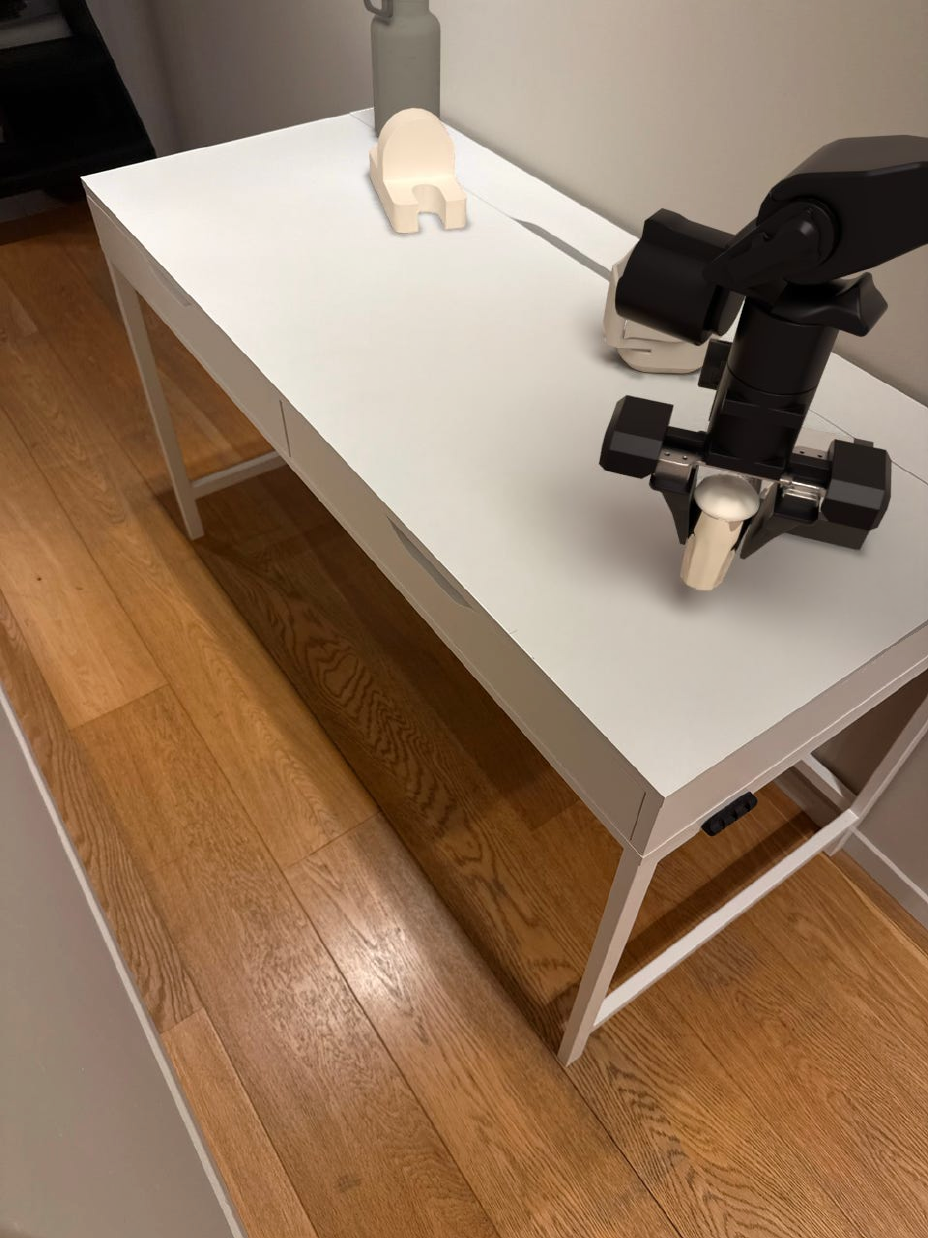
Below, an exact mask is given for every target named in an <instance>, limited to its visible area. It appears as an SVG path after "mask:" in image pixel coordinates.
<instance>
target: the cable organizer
mask: <svg viewBox="0 0 928 1238" xmlns="http://www.w3.org/2000/svg"><path fill="white" fill-rule="evenodd" d="M637 243H638V241H636V243H635V244H634V245H633V246H632V247H631V249H630V250H629V251H628V252H627V253H626V254H625V255H624V257H622V258H621V259H620V260H618V261H617V262H615V263H614V264H612V265H611V269H610V277H609V282H608V288H607V295H606V302H605V307H604V312H603V318H602V319H603V320H602V323H603V331H604V341H605V344H606V345H608V346H610V347H613V348H617V351H618V355H619V356H620V357H621V358H622V359H623V361H625V363H627V365H628V366H629V367H630V368H632V369H633V370H636V371H638V372H640V373H641V372H642V373H653V374H654V373H655V374H656V373H665V374H688V373H689V374H690V373H692V372H695V371H697V370H698V369H700V368H702V365H703V362H704V358H705V354H706V351H707V347H708V343H709V340H710V338H714V339H719V340H721V338H723V336H717V335H715V334H712V335H711V336H710V338H709V339H708V340H707V341H706V342H705V343H704V344H702V345H701V346H695V345H693V344H690V343H687V342H685V341H682V340H680V339H677V338H674V337H672V336H669V335H667V334H664V333H661V332H659V331H656V330H653V329H651V328H648V327H646V326H643V325H640V324H638V323H635V322H633V321H630V320H627V319H625V318H622V317H620V316H619V315H618V314H617V312H616V309H615V292H616V286H617V282H618V280H619V278H620V277H621V276H623V272H624V269H625V267H626V264H627V262H628V259H629V257H630V255H631V253H632V251H633V249H634V248H635V246H636V244H637ZM625 324H626V325H625ZM625 326H626V327H625Z"/></svg>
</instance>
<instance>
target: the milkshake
mask: <svg viewBox="0 0 928 1238" xmlns="http://www.w3.org/2000/svg"><path fill="white" fill-rule="evenodd" d="M774 484H775V482H770V483H769V484H768V485H767V486H766V487H765V488H764V489H763V490H762V491H761V492H760V493H759V494H757V492H756V491H755V489H754V488H753V487H752V484H751V483H750V482H749V481H747V480H746V479H743V478H742V477H739V476H736V475H732V474H728V473H727V474H718V473H717V474H712V475H708V476H706V477H704V478H702V479H701V481H700V482H699V483H697V484H696V489H695V492H694V499H693V505H692V511H691V519H690V526H689V533H688V537H687V540H686V543H685V547H684V553H683V558H682V561H681V567H680V572H679V576H680V578H681V579H682V580H683V582H684V583H685V585H686V586H688V587H690V588H693V589H695V590H697V591H712V590H714V589H716V588H717V587H719V586H721V585H722V582H723V580H724V578H725V577H726V574H727V572H728V570H729V568H730V566H731V564H732V562H733V560H734V558H735V555H736V553H737V551H738V549H739V547H740V544H741V543H742V540H743V539H744V538H745V536H746V534H747V532H748V530H749V528H750V526H751V525H750V523H751V522H752V520H753V518H754V516H755V514H756V512H757V511H758V509H759V505H760V501H759V500H760V498H761V497H762V496H763V495H764V494H765V493H766V492H767V491H768V490H769V489H770V488H771V487H772V486H773V485H774Z"/></svg>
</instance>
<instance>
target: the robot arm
mask: <svg viewBox="0 0 928 1238" xmlns="http://www.w3.org/2000/svg"><path fill="white" fill-rule="evenodd" d="M759 205H760V206H759V208H758V212H757V216H755V217H754V218H753V219H752V220H751V221H750V222H749V223H747V224H746V225H745V226H744V227H743V228H741V229H740V231H738V232H737V233H735V234H732V233H730V232H727V231H723V230H721V229H718V228H716V227H715V228H714V227H712V226H710V225H709V226H708V225H706V224H702V223H699V222H696V221H693V220H691V219H688V218H687V217H685V216H684V215H682V214H681V213H678V212H676V211H673V210H670V209H668V208H664V207H662V208H660V209H658V210H657V211H655V212H654V213H653V214H652V215H650V216H648V217H647V218H646V219H644V222H643V227H642V233H641V237H640V238H639V240H638V241H637V242H638V243H637V242H636V243H637V244H636V243H635V244H636V246H635V248H634V249H633V251H632V253H631V255H630V257H629V259H628V262H627V264H626V267H625V269H624V272H623V276H621V277H620V278H619V280H618V282H617V286H616V292H615V309H616V312H617V314H618V315H619V316H620V317H622V318H625V319H627V320H630V321H633V322H635V323H638V324H640V325H643V326H646V327H648V328H651V329H653V330H656V331H659V332H661V333H664V334H667V335H669V336H672V337H674V338H677V339H680V340H682V341H685V342H687V343H690V344H693V345H695V346H701V345H702V344H704V343H705V342H706V341H707V340H708V339H709V338H710V336H711V335H712V334H715V335H717V336H722V337H723V336H725V335H726V334H727V333H728V331H730V329H731V327H732V326H733V325H734V323H735V321H736V319H737V317H738V315H739V314H740V315H739V319H738V322H737V326H736V329H735V332H734V335H733V340H732V341H730V340H729V341H728V340H723V339H714V338H710V340H709V343H708V347H707V351H706V354H705V358H704V362H703V365H702V367H701V370H700V373H699V378H698V381H697V387H698V388H701V389H708V390H711V391H712V390H713V391H715V395H714V398H713V401H712V405H711V408H710V412H709V416H708V420H707V421H708V426H707V428H706V430H698V431H695V430H690V429H685V428H681V427H677V426H672V425H670V423H671V418H672V415H673V411H674V404H671V403H667V402H662V401H657V400H653V399H648V398H643V397H639V396H634V395H629V394H626V395H625V396H623V397H621V398H620V399H619V400H617V401H616V403H615V405H614V408H613V411H612V414H611V417H610V420H609V423H608V425H607V428H606V430H605V433H604V436H603V440H602V444H601V450H600V456H599V459H598V465H599V466H600V467H601V468H602V470H603V471H605V472H609V473H612V474H613V473H614V474H618V475H621V476H626V477H631V478H635V479H639V480H642V479H643V480H644V479H645V478H647V477H649V476H650V478H649V481H648V487H649V488H650V489H651V490H653V491H656V492H658V493H661V494H662V495H661V496H663V499H664V501H665V503H666V506H667V507H668V509H669V511H670V514H671V516H672V519H673V524H674V527H675V531H676V535H677V539H678V542H679V545H681V546H686V543H687V538H688V533H689V526H690V519H691V511H692V505H693V499H694V492H695V489H696V487H697V484H698V483H697V482H698V475H699V468H700V467H704V468H709V469H713V470H717V471H722V472H727V473H731V474H735V475H739V476H745V477H749V478H752V479H753V478H757V479H762V480H766V481H771V482H775V484H774V485H773V486H772V487H771V488H770V490H769V492H768V494H767V496H766V498H765V499H764V501H763V503H762V505H761V507H760V509H759V511H758V513H757V515H756V517H755V518H754V520H753V522H752V524H751V525H749V527H748V529H747V531H746V533H745V536H744V538H743V539H744V540H743V542H742V545H741V548H740V552H739V559H740V560H747V559H748V558H749V557H750V556H752V555H753V554H755V553H756V552H757V551H759V550H760V549H761V548H763V547H764V546H765V545H767V544H768V543H770V542H771V541H772V540H774V539H776V538H777V537H779V536H781V535H782V534H786V533H785V532H787V531H788V530H790V529H792V528H794V527H796V526H798V525H806V526H812V525H814V524H815V523H816V522H817V520H818V515H819V505H820V499H821V497H823V498H824V499H823V501H822V504H821V509H820V511H821V512H822V513H823V515H824V516H825V518H826V519H827V520H828V522H831V523H835V524H840V525H844V526H848V527H853V528H857V529H861V530H866V531H870V532H871V531H873V530H876V529H878V528H879V527H880V524H881V522H882V520H883V518H884V517H885V515H886V513H887V511H888V508H889V506H890V502H891V498H892V462H893V461H892V458H891V456H890V454H889V452H888V451H887V449H884V448H880V447H875V446H873V447H870V446H866V445H861V444H856V443H851V442H847V441H842V440H837V439H834V440H833V441H832V442H831V443H830V446H829V448H828V450H827V451H822V450H817V449H813V448H808V447H803V446H796V447H794V446H795V444H796V441H797V439H798V436H799V434H800V431H801V428H802V427H804V424H805V421H806V418H807V415H808V413H809V410H810V408H811V405H812V403H813V400H814V397H815V395H816V392H817V390H818V387H819V385H820V382H821V379H822V377H823V374H824V372H825V369H826V366H827V364H828V361H829V359H830V356H831V354H832V351H833V348H834V346H835V343H836V341H837V338H838V335H839V334H840V331H842V332H843V333H847V334H850V335H853V336H856V337H859V338H865V337H866V336H867V335H868V334H869V333H870V332H871V330H872V329H873V328H874V326H876V324H877V323H878V321H879V320H880V319H881V318H882V317H883V316H884V314H885V313H886V312H887V311H888V308H889V304H888V301H887V300H886V299H885V298H884V296H883V294H882V293H881V291H880V290H879V289H878V288H877V287H876V285H875V283H874V279H873V275H872V273H871V272H870V271H867V270H870V269H873V268H876V267H879V266H882V265H883V264H885V263H888V262H890V261H892V260H894V259H896V258H899V257H901V256H903V255H906V254H908V253H910V252H913V251H914V250H917V249H919V248H921V247H923V246H927V245H928V137H927V136H919V135H910V134H892V135H891V134H890V135H874V136H856V137H845V138H839V139H836V140H833V141H832V142H831V141H830V142H829V143H827V144H824V145H822V146H821V147H820V148H818V149H817V150H815V151H814V152H813V153H811V154H810V155H809V156H808V157H807V158H806V159H804V160H803V161H802V162H801V163H800V164H798V165H797V166H796V167H795V168H794V169H793V170H792V171H790V172H789V173H788V174H786V175H785V176H784V177H783V178H782V179H780V180H779V181H778V182H777V183H775V185H773V187H771V189H770V190H769V191H768V193H767V194H766V195H765V197H764V199H763V200H762V202H761V204H759ZM864 271H865V272H864ZM860 272H863V273H862V274H860V275H858V276H856V277H853V278H847V279H846V278H844V277H848V276H851V275H854V274H857V273H860ZM627 320H626V321H627Z"/></svg>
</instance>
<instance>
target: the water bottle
mask: <svg viewBox="0 0 928 1238" xmlns="http://www.w3.org/2000/svg"><path fill="white" fill-rule="evenodd" d="M380 2H381V3H380V4H381V8H377V7H376V6H374V5H373V4H372V2H371V0H363V5H364V8H365V9H366V11H368V12H369V13H372V14H373V15H374V16H373V18H372V20H371V23H370V44H371V46H370V47H371V68H372V88H373V89H372V90H373V93H372V94H373V95H372V96H373V114H374V115H373V116H374V118H373V119H374V130H375V133H376V135H377V137H379V135H380V132H381V130H382V128H383V127H384V125H385V124H386V122H387V121H388V120H389V119H390V118H391V117H392V116H393V115H395V114H397V113H399V112H400V111H402V110H406V109H411V108H417V109H424V110H426V111H429V112H431V113H432V114H433V115H435V116H436V117H437V118H438V119H439V120H440V121H441V35H442V34H441V32H442V31H441V23H440V21H439V19H438V17H437V16H436V15H435V14H434V13H433V12H432V11H431V10H430V0H380Z"/></svg>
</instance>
